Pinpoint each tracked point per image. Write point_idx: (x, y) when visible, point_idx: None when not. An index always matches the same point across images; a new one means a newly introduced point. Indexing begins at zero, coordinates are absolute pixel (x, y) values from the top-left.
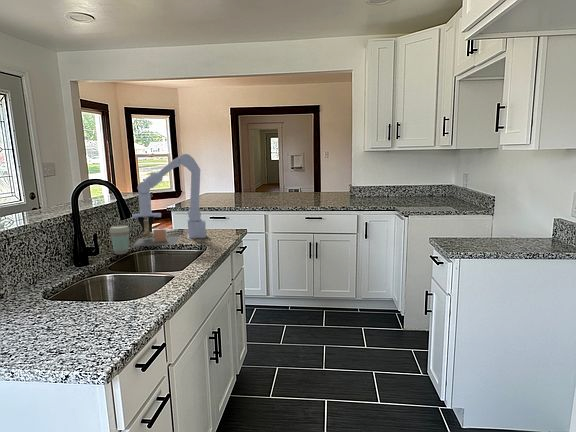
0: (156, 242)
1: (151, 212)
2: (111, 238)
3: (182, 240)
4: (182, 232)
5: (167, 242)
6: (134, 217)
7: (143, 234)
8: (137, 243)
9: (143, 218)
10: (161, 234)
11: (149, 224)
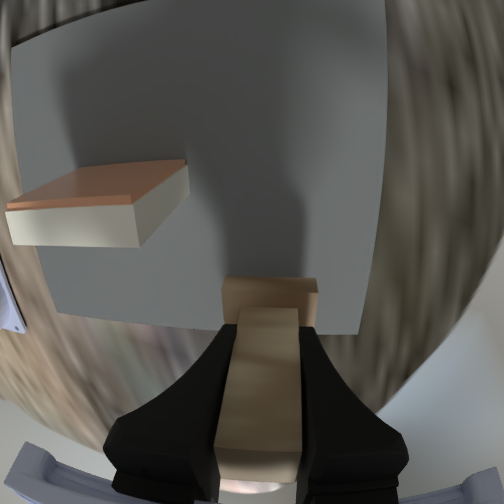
0: (157, 122)
1: None
2: None
3: (6, 205)
4: (100, 417)
5: (64, 110)
6: (447, 498)
7: (310, 291)
8: (357, 126)
9: (303, 497)
10: (76, 181)
11: (209, 382)
